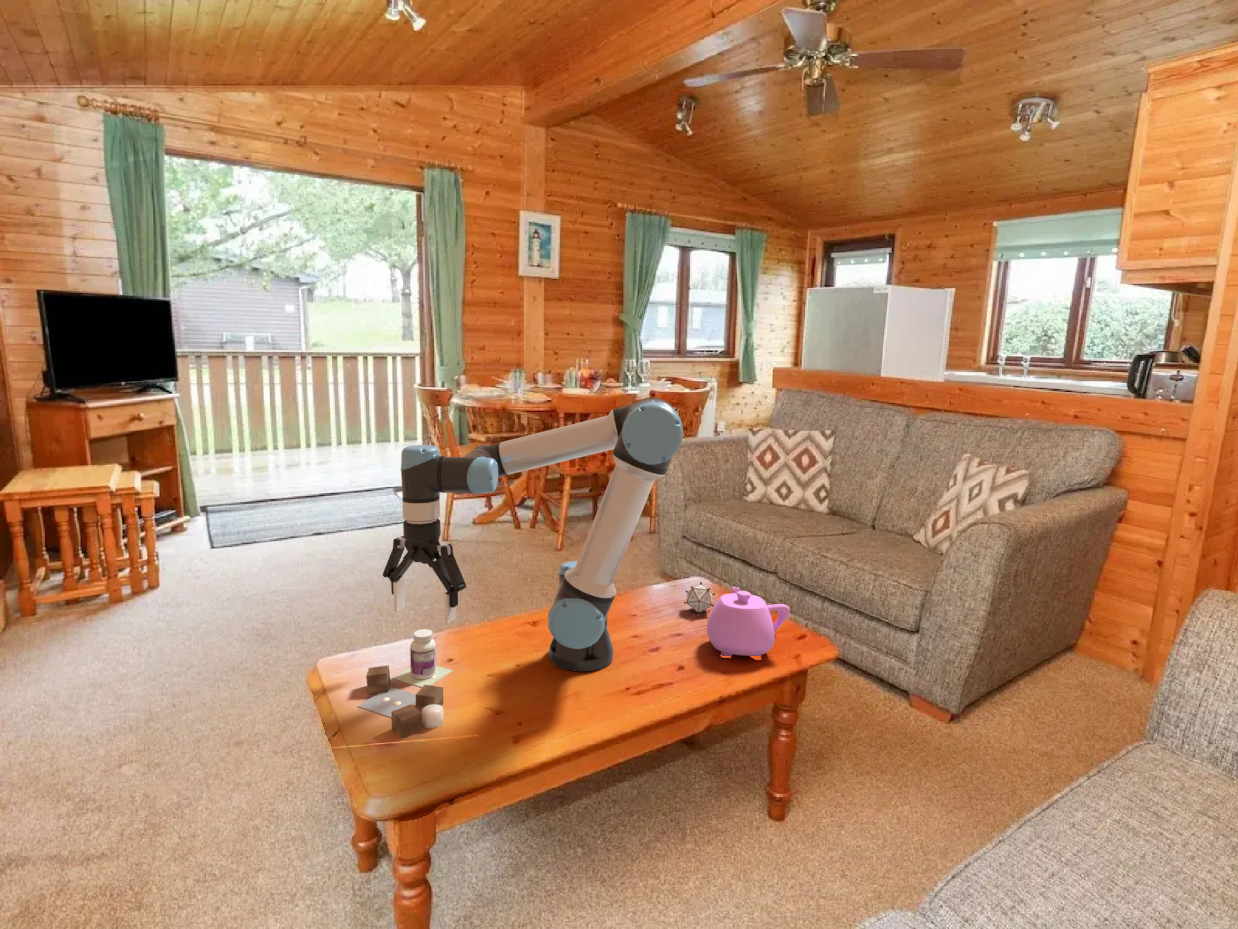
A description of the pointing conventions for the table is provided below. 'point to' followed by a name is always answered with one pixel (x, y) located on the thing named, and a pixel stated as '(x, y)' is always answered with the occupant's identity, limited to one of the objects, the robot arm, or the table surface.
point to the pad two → (389, 701)
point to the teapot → (743, 624)
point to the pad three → (408, 678)
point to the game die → (699, 598)
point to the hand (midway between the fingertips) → (424, 615)
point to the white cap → (432, 716)
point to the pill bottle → (423, 654)
